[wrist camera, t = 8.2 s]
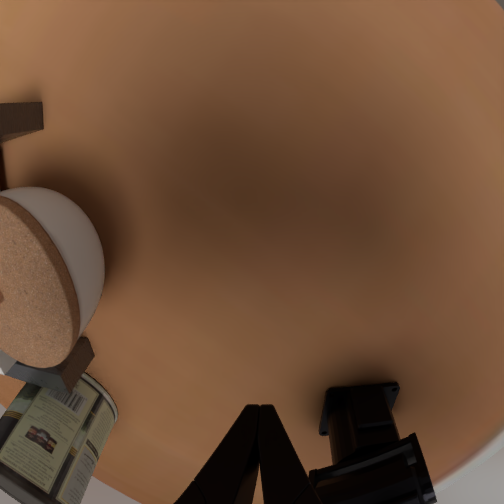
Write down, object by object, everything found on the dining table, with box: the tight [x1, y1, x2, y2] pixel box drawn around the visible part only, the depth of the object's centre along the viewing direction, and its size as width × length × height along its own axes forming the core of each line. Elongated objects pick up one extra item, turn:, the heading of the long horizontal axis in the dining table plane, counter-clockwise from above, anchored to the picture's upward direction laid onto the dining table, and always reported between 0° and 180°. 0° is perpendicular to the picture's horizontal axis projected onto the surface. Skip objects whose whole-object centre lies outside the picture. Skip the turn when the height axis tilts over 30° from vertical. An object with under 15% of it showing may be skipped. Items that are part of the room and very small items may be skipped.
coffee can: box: [0, 373, 118, 504], centre depth 21 cm, size 10×10×14 cm
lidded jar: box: [0, 187, 105, 368], centre depth 16 cm, size 11×11×9 cm
